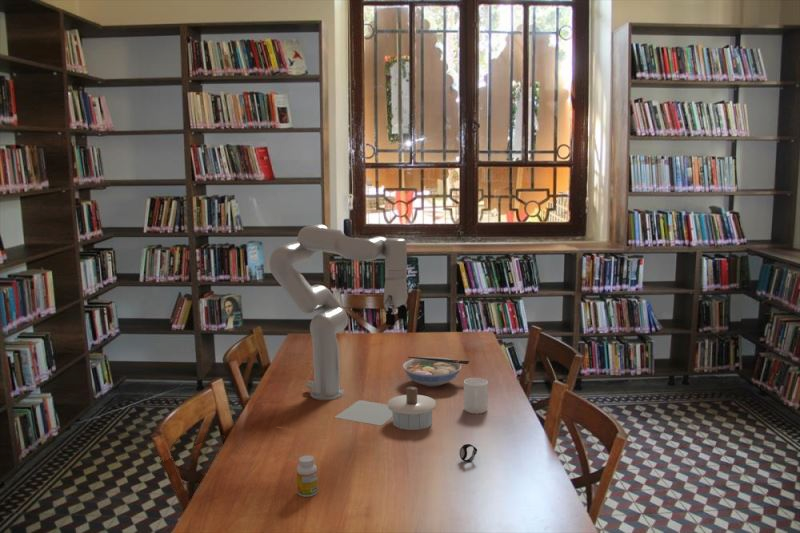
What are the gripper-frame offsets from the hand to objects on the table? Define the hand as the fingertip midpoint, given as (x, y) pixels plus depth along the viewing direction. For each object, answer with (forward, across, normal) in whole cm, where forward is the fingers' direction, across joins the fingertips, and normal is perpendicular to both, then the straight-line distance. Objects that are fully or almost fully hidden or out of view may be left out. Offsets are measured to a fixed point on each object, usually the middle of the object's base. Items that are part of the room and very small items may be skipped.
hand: (396, 321), depth 247 cm
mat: (+30, +12, -5) cm, 33 cm away
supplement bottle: (+31, +69, +6) cm, 76 cm away
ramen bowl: (+31, -25, +3) cm, 40 cm away
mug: (+31, -4, +28) cm, 42 cm away
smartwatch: (+31, +34, +39) cm, 60 cm away
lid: (+24, +14, +12) cm, 30 cm away
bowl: (+30, +14, +12) cm, 35 cm away
